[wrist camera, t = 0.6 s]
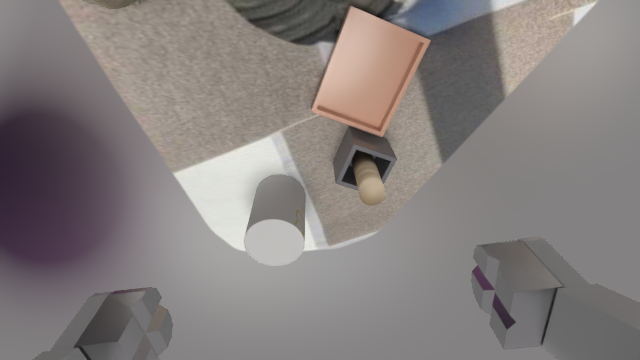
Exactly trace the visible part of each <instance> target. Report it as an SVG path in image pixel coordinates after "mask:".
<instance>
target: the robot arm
mask: <svg viewBox="0 0 640 360" xmlns="http://www.w3.org/2000/svg"><path fill="white" fill-rule="evenodd" d="M473 258H474V260H475V261H476V263H477V266H476V267H475V269H474V270H473V271H472V279H471V282H472V288H473V293H474V295H475V298H476V301H477V302H478V304H479V306H480V308H481V309H482V310H483V311H485V312H486V313H488V314H489V315H491V319H490V326H491V328H492V330H493V331H494V333H495V335H496V337H497V338H498V340H499V342H500V344H501V345H502V347H503V349H514V348H525V347H537V346H542V348H543V349H544V350H545V351H546V352H548V353H549V354H551V355H552V356H553V357H554V358H556V359H557V360H640V303H639V302H637V301H635V300H632V299H630V298H628V297H625V296H623V295H621V294H619V293H616V292H615V291H612V290H610V289H608V288H605V287H603V286H601V285H599V284H589V283H588V282H587V281H586V280H585V279H584V278H583V277H582V276H581V275H580V274H579V273H578V272H577V271H576V270H575V269H574V268H573V267H572V266H571V265H570V264H569V263H568V262H567V261H566V260H565V259H564V258H563V257H562V256H561V255H560V254H559V253H558V252H557V251H556V250H555V249H554V248H553V247H552V246H551V245H550V244H549V243H548V242H547V241H546V240H545V239H544V238H542V237H539V236H538V237H532V238H525V239H518V240H512V241H505V242H497V243H491V244H483V245H477V246H476V247H475V249H474V256H473ZM160 300H161V295H160V293H159V292H158V290H157V288H152V287H148V288H139V289H129V290H119V291H114V292H105V293H95V294H94V295H92V296H90V297H89V298H88V299H87V300H86V302H85V303H84V304H83V306H82V307H81V309H80V310H79V311H78V313H77V314H76V315H75V317H74V318H73V320H72V321H71V322H70V324H69V325H68V326H67V328H66V329H65V331H64V332H63V333H62V335H61V336H60V337H59V339H58V340H57V341H56V343H55V344H54V345H53V347H52V348H51V350H50V351H46V352H42V353H41V354H39V355H38V356H37V357H35V358H34V359H32V360H159V357H158V356H159V355H160V354H161V353H162V352H163V351H164V350H165V349H166V348H167V347H168V345H169V342H170V340H171V337H172V327H173V324H172V319H171V315H170V313H169V311H168V310H167V309H166V308H164V307H163V306H161V305H159V303H160Z"/></svg>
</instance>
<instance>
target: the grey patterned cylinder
mask: <svg viewBox="0 0 640 360" xmlns="http://www.w3.org/2000/svg"><path fill="white" fill-rule="evenodd" d="M304 241H305V191H304V188H303V186H302V185H301V184H300V183H299V182H298V181H297V180H296V179H294V178H292V177H290V176H287V175H272V176H269V177H267V178H265V179H264V180H263V181H262V182H261V183H260V184H259V186H258V187H257V190H256V194H255V198H254V202H253V206H252V210H251V214H250V218H249V222H248V226H247V230H246V234H245V238H244V246H245V249H246V251H247V253H248V254H249V255H250V256H251V257H252V258H253V259H254V260H256V261H258V262H260V263H262V264H265V265H271V266H281V265H286V264H288V263H291V262H293V261H294V260H296V259H297V258H298V257H299V256H300V255H301V254H302V252H303V249H304Z"/></svg>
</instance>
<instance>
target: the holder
mask: <svg viewBox="0 0 640 360" xmlns="http://www.w3.org/2000/svg"><path fill="white" fill-rule="evenodd" d="M356 149H357V150H359V151H362V152H365V153H368V154H371V155H373V158H374V161H375V164H376V166H377V169H378V172H379V174H380V177H381V180H382V182H383V184H384V182H385V180H386V179H387V177H388V175H389V173H390V171H391V169H392V167H393V166H394V164H395V162H396V160H397V158H396V156H395V154H394V152H393V150H392V148H391V146H390V144H389V142H388V140H387V139H384V138H381V137H378V136H375V135H372V134H370V133H367V132H364V131H361V130H358V129H356V128H353V127H350V126H349V127H348V129H347V132H346V134H345V136H344V138H343V141H342V143H341V145H340V147H339V150H338V152H337V154H336V156H335V159H334V161H333V166H334V174H335V181H336V184H339V185H342V186H345V187H349V188H352V189H355V190H358V186H357V182H356V178H355V174H354V170H353V165H352V161H351V160H352V158H353V155H354V153H355V151H356ZM358 191H359V190H358Z"/></svg>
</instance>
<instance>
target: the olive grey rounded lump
mask: <svg viewBox="0 0 640 360" xmlns="http://www.w3.org/2000/svg"><path fill="white" fill-rule="evenodd" d="M84 1H86V2H88V3H91V4H98V5H100V6H102V7H106V8H109V9H118V8H122V7H126V6H129V5H136V4H140V3H141V0H84Z"/></svg>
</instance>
